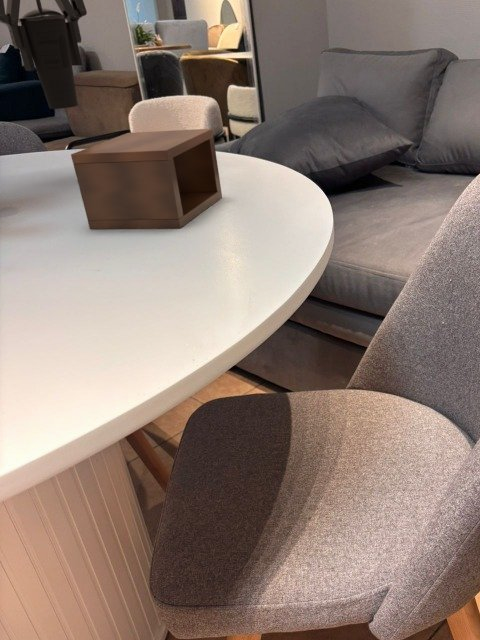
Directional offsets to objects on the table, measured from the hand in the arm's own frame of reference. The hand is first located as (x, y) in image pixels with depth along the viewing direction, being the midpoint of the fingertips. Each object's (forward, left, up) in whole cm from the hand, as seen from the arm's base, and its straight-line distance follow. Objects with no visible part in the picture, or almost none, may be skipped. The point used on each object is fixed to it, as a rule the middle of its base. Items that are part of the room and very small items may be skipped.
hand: (54, 67), depth 109 cm
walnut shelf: (+26, -22, -19) cm, 39 cm away
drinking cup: (0, 0, -6) cm, 6 cm away
